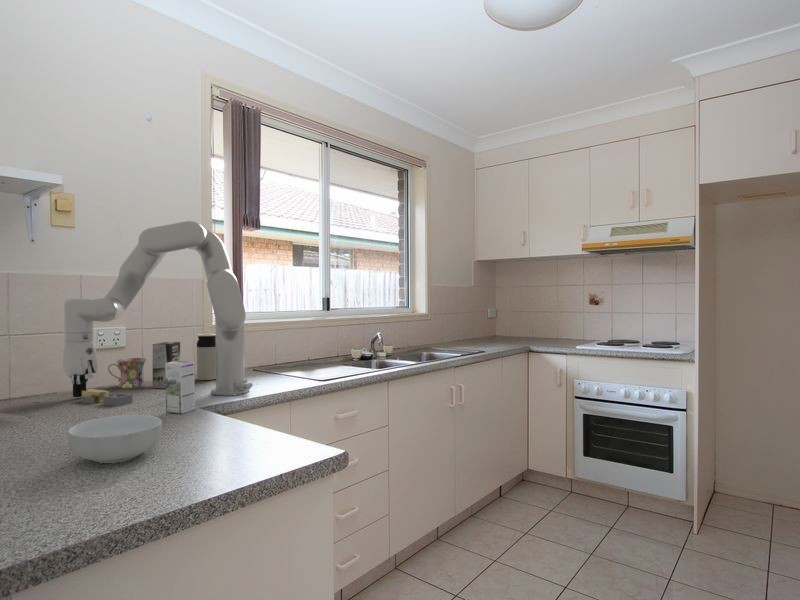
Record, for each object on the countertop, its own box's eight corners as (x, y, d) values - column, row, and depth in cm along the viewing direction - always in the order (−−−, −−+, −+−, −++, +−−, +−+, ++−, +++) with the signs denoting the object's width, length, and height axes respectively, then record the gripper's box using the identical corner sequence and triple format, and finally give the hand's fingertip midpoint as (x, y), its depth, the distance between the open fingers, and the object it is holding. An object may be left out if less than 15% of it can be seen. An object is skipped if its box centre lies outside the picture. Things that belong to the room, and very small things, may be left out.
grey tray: (158, 400, 157) (158, 388, 157) (85, 417, 135) (85, 404, 135) (126, 396, 163) (126, 385, 163) (50, 412, 141) (50, 399, 141)
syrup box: (195, 409, 144) (195, 360, 144) (180, 414, 139) (180, 363, 139) (180, 408, 146) (179, 359, 146) (164, 412, 141) (164, 362, 141)
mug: (147, 385, 182) (147, 357, 182) (144, 390, 173) (143, 360, 173) (111, 388, 178) (110, 358, 178) (105, 392, 169) (105, 362, 169)
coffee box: (169, 388, 177) (169, 343, 177) (151, 388, 177) (151, 343, 177) (181, 383, 186) (181, 341, 186) (164, 383, 186) (164, 341, 186)
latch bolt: (108, 400, 151) (108, 390, 151) (99, 402, 148) (99, 392, 148) (91, 398, 154) (91, 388, 154) (81, 400, 151) (81, 390, 151)
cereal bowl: (59, 477, 92) (58, 439, 91) (77, 451, 107) (76, 418, 107) (160, 464, 98) (159, 429, 98) (163, 441, 114) (163, 411, 113)
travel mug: (198, 381, 191) (198, 335, 190) (195, 378, 197) (195, 334, 197) (219, 379, 195) (219, 334, 194) (216, 376, 201) (216, 333, 201)
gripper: (106, 337, 154) (107, 396, 154) (75, 336, 160) (76, 392, 160) (83, 339, 147) (83, 400, 148) (51, 338, 153) (52, 396, 153)
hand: (79, 396), depth 154 cm, fingers closed
